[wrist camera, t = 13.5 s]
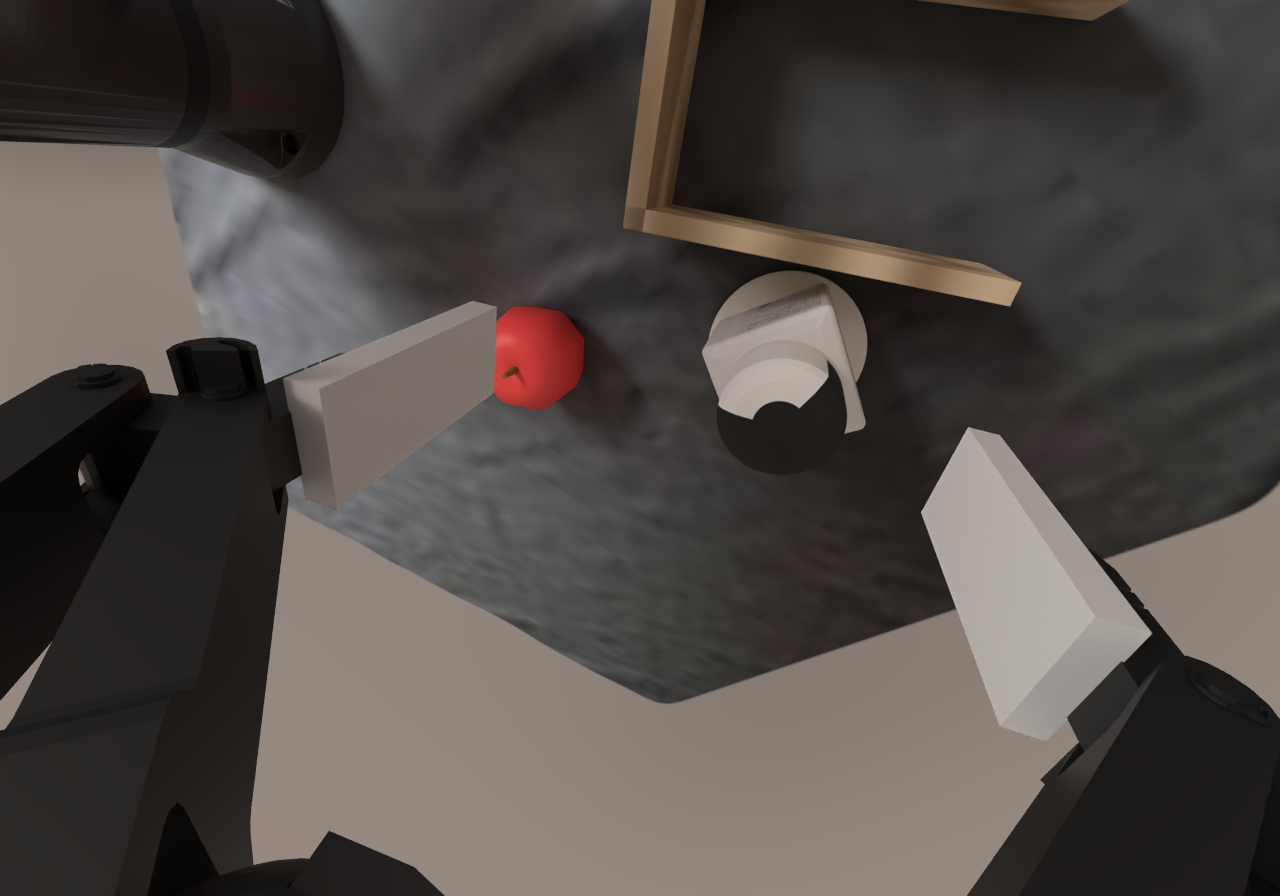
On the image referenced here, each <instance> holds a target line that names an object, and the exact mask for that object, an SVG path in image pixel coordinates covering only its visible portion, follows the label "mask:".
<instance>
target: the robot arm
mask: <svg viewBox="0 0 1280 896" xmlns="http://www.w3.org/2000/svg"><path fill="white" fill-rule="evenodd" d="M342 109H343V83H342V74H341V67H340V62H339V57H338V53H337V48H336V45H335V41H334V38H333V35H332V32H331V29H330V27H329V24H328V22H327V19H326V17H325V15H324V13H323V10H322V8H321V6H320V4H319V3H318V1H317V0H0V141H8V142H36V143H63V144H88V145H111V146H112V145H113V146H135V147H162V148H174V149H177V150H179V151H182V152H185V153H188V154H190V155H193V156H196V157H198V158H201V159H204V160H207V161H209V162H212V163H215V164H217V165H220V166H223V167H226V168H228V169H231V170H234V171H236V172H239V173H242V174H245V175H249V176H254V177H261V178H292V177H298V176H301V175H304V174H307V173H308V172H310V171H312V170H313V169H315V168H316V167H317V166H319V165H320V164H321V163H322V162H323V161H324V159H325V158H326V157H327V155H328V154H329V152H330V151H331V149H332V147H333V145H334V143H335V140H336V138H337V135H338V131H339V128H340V123H341V117H342ZM496 314H497V307H495V306H491V305H487V304H483V303H479V302H475V301H471V302H469V303H466V304H464V305H461V306H459V307H456V308H454V309H451V310H449V311H447V312H444V313H442V314H439V315H437V316H434V317H432V318H429V319H427V320H425V321H422V322H420V323H417V324H415V325H412V326H410V327H407V328H405V329H403V330H400V331H398V332H395V333H393V334H390V335H388V336H385V337H383V338H380V339H378V340H376V341H373V342H371V343H368V344H366V345H363V346H361V347H358V348H356V349H354V350H351V351H349V352H346V353H340V354H337V355H335V356H332V357H330V358H327V359H325V360H322V361H321V363H319V362H318V363H315V364H313V365H310V366H308V367H307V369H304V368H303V369H300V370H298V371H295V372H293V373H290V374H288V375H285V376H283V377H281V378H278V379H276V380H273V381H271V382H268V383H266V384H264V379H263V374H262V369H261V364H260V359H259V355H258V350H257V347H256V345H254V344H252V343H251V342H249V341H245V340H240V339H236V338H222V337H217V338H201V339H195V340H189V341H184V342H182V343H179V344H176V345H173V346H172V347H170V348H169V349H168V350H166V353H167V356H168V359H169V362H170V365H171V369H172V373H173V376H174V379H175V383H176V386H177V389H178V392H179V394H178V396H174V395H165V394H154V393H150V392H149V389H148V385H147V382H146V379H145V376H144V374H143V372H142V371H141V370H139V369H136V368H134V367H129V366H122V365H106V364H93V365H82V366H79V367H78V368H75V369H71V370H67V371H63V372H61V373H58V374H56V375H53V376H51V377H49V378H47V379H45V380H44V381H42V382H40V383H38V384H37V385H35V386H33V387H31V388H30V389H28V390H26V391H25V392H23V393H21V394H19V395H17V396H16V397H14V398H12V399H10V400H9V401H7V402H5V403H3V404H2V405H0V700H1V699H2V698H3V697H4V696H5V695H6V693H7V692H8V691H9V690H10V689H11V688H12V687H13V686H14V684H15V683H16V682H17V681H18V680H19V679H20V677H21V676H22V675H23V674H24V673H25V672H26V671H27V669H28V668H29V667H30V666H31V665H32V664H33V663H34V661H35V660H36V659H37V658H38V657H39V656H40V654H41V653H42V652H43V651H44V650H45V649H46V648H47V647H48V645H49V644H50V643H51V642H52V643H51V645H50V647H49V649H48V651H47V653H46V655H45V657H44V658H43V660H42V663H41V664H40V666H39V668H38V670H37V672H36V674H35V676H34V678H33V680H32V682H31V684H30V686H29V688H28V690H27V692H26V694H25V696H24V698H23V700H22V702H21V704H20V706H19V708H18V709H17V711H16V713H15V716H14V717H13V719H12V720H11V722H10V723H9V724H8V726H7V727H6V729H5V730H1V731H0V896H444V895H443V894H442V893H441V892H440V891H439V890H438V889H437V888H436V887H435V886H434V885H433V884H432V883H431V882H430V881H428V880H427V879H426V878H425V877H424V876H423V875H422V874H421V873H420V872H418V870H417V869H416V868H415V867H413V866H410V865H408V864H406V863H403V862H401V861H399V860H396V859H394V858H391V857H389V856H387V855H385V854H382V853H380V852H377V851H375V850H373V849H370V848H368V847H366V846H363V845H361V844H359V843H356V842H354V841H352V840H349V839H347V838H345V837H342V836H340V835H337V834H335V833H333V832H330V831H329V832H328V833H327V835H326V836H325V837H324V839H323V840H322V842H321V843H320V844H319V846H318V847H317V849H316V850H315V852H314V853H313V854H312V856H311V858H310V859H305V858H299V859H287V860H276V861H271V862H266V863H261V864H256V865H253V854H252V845H251V834H250V818H251V817H250V816H251V806H252V798H253V789H254V781H255V773H256V764H257V756H258V747H259V739H260V731H261V723H262V714H263V706H264V698H265V690H266V682H267V673H268V665H269V657H270V648H271V640H272V631H273V623H274V615H275V607H276V598H277V590H278V582H279V574H280V564H281V557H282V549H283V541H284V532H285V524H286V515H287V507H288V495H287V490H286V484H287V483H289V482H291V481H292V480H294V479H296V478H297V477H299V476H300V475H301V479H302V484H303V489H304V495H305V499H307V500H310V501H313V502H316V503H319V504H322V505H325V506H328V507H331V508H334V509H339V508H340V507H341V506H343V505H344V504H345V503H347V502H348V501H349V500H351V499H352V498H353V497H355V496H356V495H357V494H359V493H360V492H361V491H363V490H364V489H365V488H367V487H368V486H369V485H371V484H372V483H374V482H375V481H376V480H378V479H379V478H380V477H382V476H383V475H384V474H386V473H387V472H388V471H390V470H391V469H392V468H394V467H395V466H396V465H398V464H399V463H400V462H402V461H403V460H404V459H406V458H407V457H408V456H410V455H411V454H412V453H414V452H415V451H417V450H418V449H419V448H421V447H422V446H423V445H425V444H426V443H427V442H429V441H430V440H431V439H433V438H434V437H435V436H437V435H438V434H439V433H441V432H442V431H443V430H445V429H446V428H447V427H449V426H450V425H451V424H453V423H454V422H456V421H457V420H458V419H460V418H461V417H462V416H464V415H465V414H466V413H468V412H469V411H470V410H472V409H473V408H474V407H476V406H477V405H478V404H480V403H481V402H482V401H484V400H485V399H486V398H488V397H489V396H490V395H492V394H493V393H494V374H495V344H496ZM79 469H80V471H81V473H82V475H83V478H84V480H85V482H84V483H83V484H82V485H81V486H80V484H79V478H78V471H79ZM921 514H922V516H923V519H924V522H925V525H926V527H927V530H928V533H929V536H930V538H931V541H932V544H933V546H934V549H935V552H936V555H937V557H938V560H939V563H940V565H941V568H942V571H943V574H944V576H945V579H946V582H947V584H948V587H949V590H950V593H951V595H952V598H953V601H954V604H955V606H956V609H957V612H958V614H959V617H960V620H961V622H962V625H963V628H964V631H965V633H966V636H967V638H968V641H969V644H970V647H971V650H972V652H973V655H974V658H975V661H976V663H977V666H978V668H979V672H980V674H981V677H982V680H983V682H984V685H985V688H986V691H987V693H988V696H989V699H990V701H991V704H992V707H993V710H994V712H995V715H996V717H997V720H998V723H999V726H1000V727H1003V728H1006V729H1009V730H1012V731H1015V732H1018V733H1021V734H1024V735H1027V736H1030V737H1033V738H1037V739H1039V740H1042V741H1046V742H1047V741H1048V740H1049V739H1050V738H1051V737H1052V736H1053V735H1054V734H1055V733H1056V732H1057V731H1058V730H1059V728H1060V727H1061V726H1063V724H1064V723H1065V722H1066V721H1067V720H1068V721H1069V723H1070V725H1071V727H1072V729H1073V731H1074V733H1075V735H1076V737H1077V739H1078V741H1079V743H1078V744H1077V745H1076V746H1074V748H1072V749H1071V751H1069V752H1068V753H1067V754H1066V755H1065V756H1064V757H1063V758H1062V759H1061V760H1060V761H1059V762H1058V763H1057V764H1056V765H1055V766H1054V767H1053V768H1052V769H1051V770H1050V771H1049V772H1048V773H1047V774H1046V775H1045V776H1044V777H1043V778H1042V779H1041V781H1042V782H1043V783H1044V784H1045V786H1044V787H1043V788H1042V789H1041V791H1040V792H1039V794H1038V795H1037V797H1036V798H1035V799H1034V801H1033V802H1032V804H1031V805H1030V807H1029V808H1028V809H1027V811H1026V812H1025V814H1024V815H1023V817H1022V818H1021V819H1020V821H1019V822H1018V824H1017V825H1016V826H1015V828H1014V829H1013V831H1012V832H1011V834H1010V835H1009V836H1008V838H1007V839H1006V841H1005V842H1004V844H1003V845H1002V846H1001V848H1000V849H999V851H998V852H997V854H996V855H995V856H994V858H993V859H992V861H991V862H990V864H989V865H988V867H987V868H986V869H985V871H984V872H983V874H982V875H981V876H980V878H979V879H978V881H977V882H976V884H975V885H974V886H973V888H972V889H971V891H970V892H969V893H968V895H967V896H1280V719H1279V718H1278V716H1277V715H1276V714H1275V712H1274V711H1273V710H1272V708H1271V707H1270V706H1269V705H1268V704H1267V703H1266V702H1265V701H1264V700H1263V699H1261V698H1260V697H1259V696H1258V695H1257V694H1256V693H1255V692H1254V691H1252V690H1251V689H1250V688H1248V687H1247V686H1246V685H1244V684H1242V683H1241V682H1240V681H1238V680H1237V679H1235V678H1234V677H1232V676H1231V675H1229V674H1227V673H1225V672H1224V671H1222V670H1220V669H1218V668H1216V667H1214V666H1212V665H1210V664H1208V663H1206V662H1203V661H1201V660H1198V659H1195V658H1192V657H1189V656H1184V655H1183V653H1182V652H1181V651H1180V649H1179V648H1178V647H1177V646H1176V645H1175V643H1174V642H1173V641H1172V639H1171V638H1170V637H1169V636H1168V635H1167V633H1166V632H1165V631H1164V630H1163V628H1162V627H1161V626H1160V625H1159V623H1158V622H1157V621H1156V620H1155V618H1154V617H1153V616H1152V615H1151V614H1150V612H1149V611H1148V610H1147V609H1144V605H1143V603H1142V602H1141V601H1140V600H1139V598H1138V597H1137V596H1136V595H1135V593H1132V592H1131V588H1130V587H1129V586H1128V585H1127V583H1126V582H1125V581H1124V580H1123V578H1122V577H1121V576H1120V575H1119V573H1118V572H1117V571H1116V570H1115V569H1114V568H1113V567H1111V566H1110V565H1109V564H1108V563H1106V562H1105V561H1104V560H1103V559H1102V558H1100V557H1099V556H1098V555H1097V554H1095V553H1094V552H1093V551H1092V550H1089V549H1087V548H1086V547H1085V545H1084V544H1083V543H1082V542H1081V540H1080V539H1079V538H1078V536H1077V535H1076V534H1075V532H1074V531H1073V530H1072V529H1071V527H1070V526H1069V525H1068V523H1067V522H1066V521H1065V519H1064V518H1063V517H1062V516H1061V514H1060V513H1059V512H1058V510H1057V509H1056V508H1055V506H1054V505H1053V504H1052V503H1051V501H1050V500H1049V499H1048V497H1047V496H1046V495H1045V493H1044V492H1043V491H1042V490H1041V488H1040V487H1039V486H1038V484H1037V483H1036V482H1035V480H1034V479H1033V478H1032V477H1031V475H1030V474H1029V473H1028V471H1027V470H1026V469H1025V468H1024V466H1023V465H1022V464H1021V462H1020V461H1019V460H1018V458H1017V457H1016V456H1015V455H1014V453H1013V452H1012V451H1011V449H1010V448H1009V447H1008V445H1007V444H1006V443H1005V442H1004V440H1003V439H1002V438H1001V436H1000V435H997V434H993V433H989V432H985V431H981V430H977V429H973V428H969V427H968V429H967V430H966V432H965V434H964V436H963V438H962V439H961V441H960V443H959V445H958V447H957V448H956V450H955V452H954V454H953V456H952V457H951V459H950V461H949V463H948V465H947V466H946V468H945V470H944V472H943V474H942V476H941V477H940V479H939V481H938V483H937V485H936V486H935V488H934V490H933V492H932V494H931V495H930V497H929V499H928V501H927V503H926V504H925V506H924V508H923V510H922V512H921Z"/></svg>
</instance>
